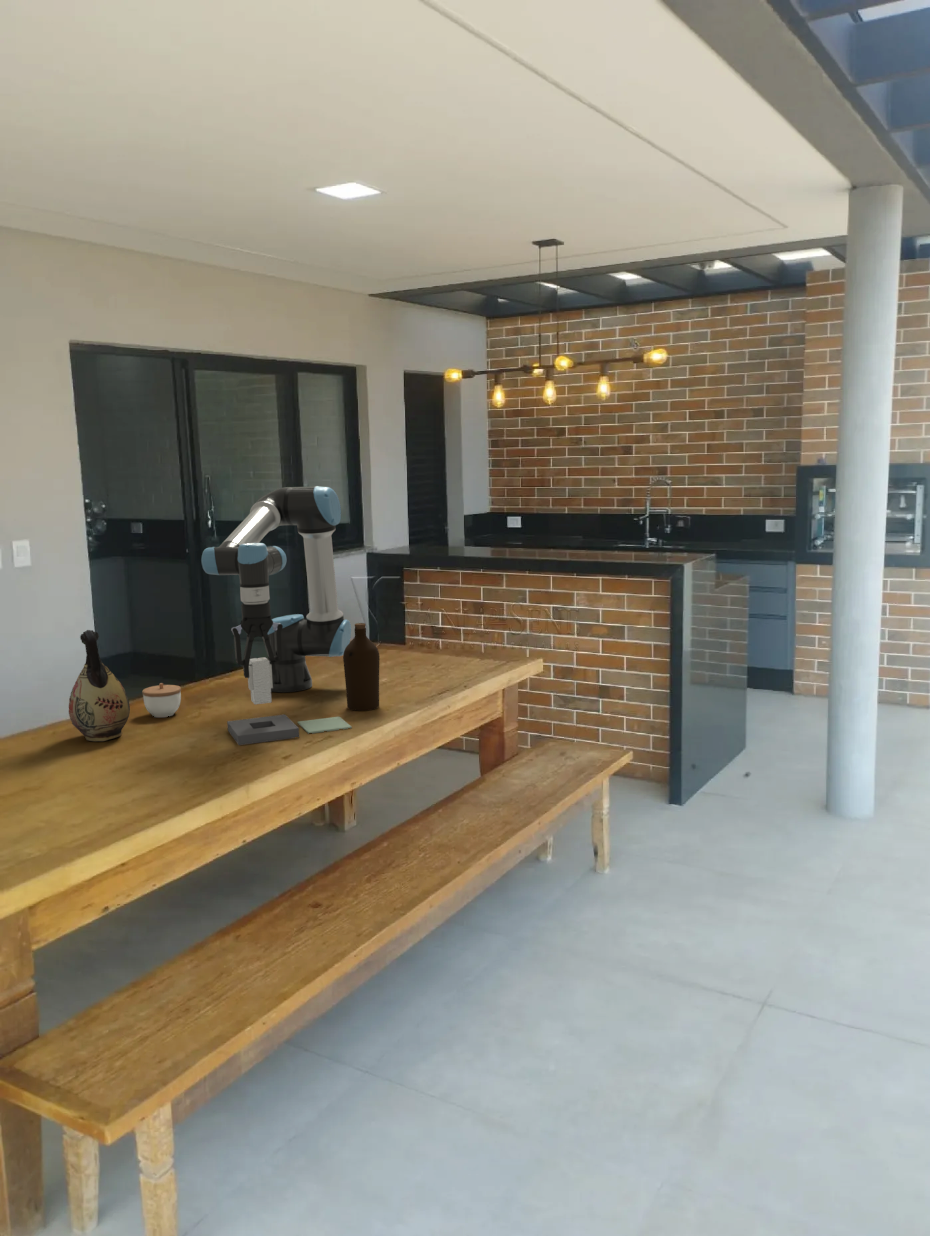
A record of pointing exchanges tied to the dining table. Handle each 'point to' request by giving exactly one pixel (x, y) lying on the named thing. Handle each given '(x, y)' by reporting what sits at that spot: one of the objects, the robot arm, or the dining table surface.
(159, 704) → the lidded jar
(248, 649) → the robot arm
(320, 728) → the green mat
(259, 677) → the metal peg
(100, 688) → the ceramic jug
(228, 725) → the pocket block
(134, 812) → the dining table surface
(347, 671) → the olive oil
